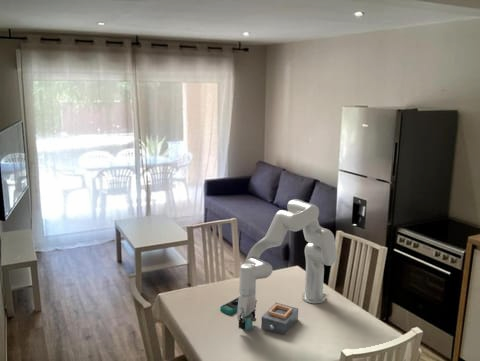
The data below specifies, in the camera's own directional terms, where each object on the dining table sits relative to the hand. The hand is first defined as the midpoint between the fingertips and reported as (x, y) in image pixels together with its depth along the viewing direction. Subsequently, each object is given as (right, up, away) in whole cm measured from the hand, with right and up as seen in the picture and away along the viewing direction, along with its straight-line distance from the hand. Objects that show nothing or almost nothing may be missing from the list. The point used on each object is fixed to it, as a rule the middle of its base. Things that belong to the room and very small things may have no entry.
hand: (246, 323), depth 203 cm
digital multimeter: (-6, +1, +20) cm, 21 cm away
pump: (0, -2, +1) cm, 2 cm away
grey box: (+16, -2, +4) cm, 17 cm away
